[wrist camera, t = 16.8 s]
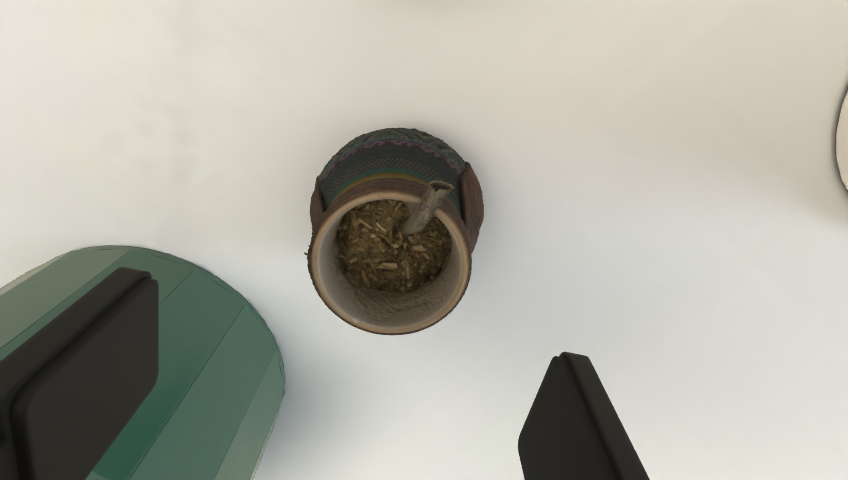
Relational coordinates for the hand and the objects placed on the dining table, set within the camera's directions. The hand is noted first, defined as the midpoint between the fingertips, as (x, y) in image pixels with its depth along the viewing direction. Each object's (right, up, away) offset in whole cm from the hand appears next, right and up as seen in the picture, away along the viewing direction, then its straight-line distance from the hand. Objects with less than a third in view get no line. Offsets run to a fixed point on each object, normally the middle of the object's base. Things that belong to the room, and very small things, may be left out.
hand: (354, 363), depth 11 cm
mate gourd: (+1, +5, +12) cm, 13 cm away
